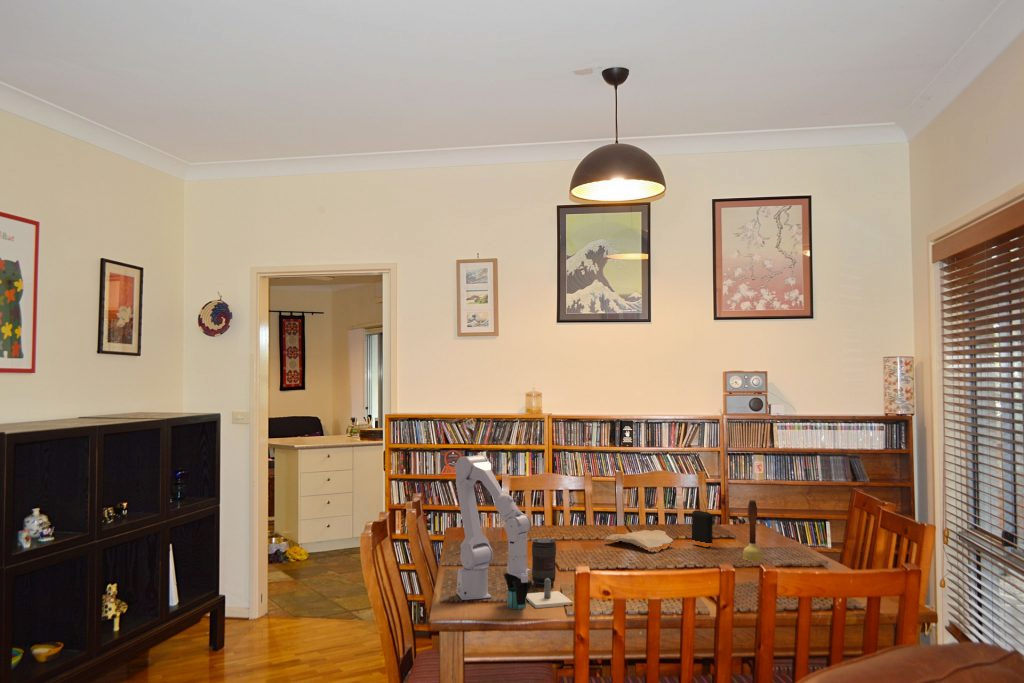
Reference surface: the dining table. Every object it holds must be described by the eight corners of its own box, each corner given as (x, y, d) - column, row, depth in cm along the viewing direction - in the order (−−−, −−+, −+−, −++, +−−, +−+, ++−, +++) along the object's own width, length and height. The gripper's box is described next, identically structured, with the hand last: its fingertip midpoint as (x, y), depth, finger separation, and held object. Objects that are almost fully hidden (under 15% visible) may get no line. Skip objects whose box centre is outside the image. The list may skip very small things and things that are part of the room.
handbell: (728, 565, 280) (728, 498, 282) (755, 563, 285) (755, 497, 286) (749, 573, 269) (749, 503, 270) (777, 571, 273) (777, 502, 274)
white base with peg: (535, 608, 224) (535, 584, 224) (522, 596, 235) (523, 574, 236) (572, 605, 228) (572, 581, 228) (558, 594, 239) (558, 572, 239)
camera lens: (554, 582, 253) (555, 537, 254) (556, 588, 245) (557, 542, 246) (530, 582, 253) (531, 537, 254) (532, 588, 245) (532, 542, 246)
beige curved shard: (630, 540, 327) (601, 542, 313) (631, 523, 327) (603, 524, 313) (677, 552, 309) (649, 555, 295) (679, 534, 310) (651, 536, 296)
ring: (510, 610, 222) (511, 593, 222) (505, 604, 227) (505, 587, 227) (528, 608, 223) (528, 591, 224) (522, 603, 229) (522, 586, 229)
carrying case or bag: (715, 548, 308) (716, 512, 309) (711, 549, 306) (711, 513, 307) (694, 544, 316) (694, 509, 317) (690, 545, 314) (690, 510, 315)
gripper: (538, 559, 220) (537, 606, 220) (522, 549, 234) (521, 593, 233) (515, 561, 218) (514, 608, 217) (500, 550, 232) (500, 594, 231)
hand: (517, 600), depth 225 cm, fingers open, 7 cm apart
